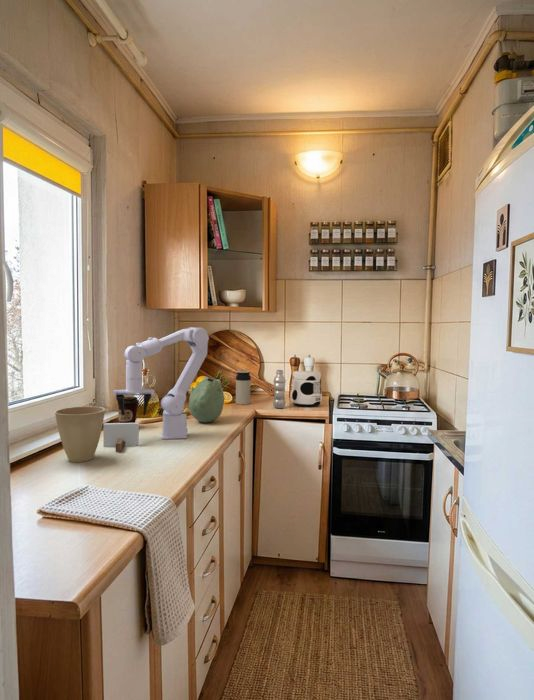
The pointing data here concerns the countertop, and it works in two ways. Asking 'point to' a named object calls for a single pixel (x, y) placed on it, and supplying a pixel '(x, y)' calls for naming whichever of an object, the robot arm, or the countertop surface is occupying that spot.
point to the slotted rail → (119, 445)
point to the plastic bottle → (279, 390)
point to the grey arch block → (121, 433)
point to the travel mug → (243, 387)
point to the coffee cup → (129, 410)
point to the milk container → (306, 388)
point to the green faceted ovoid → (206, 400)
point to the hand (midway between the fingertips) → (133, 414)
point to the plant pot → (80, 431)
